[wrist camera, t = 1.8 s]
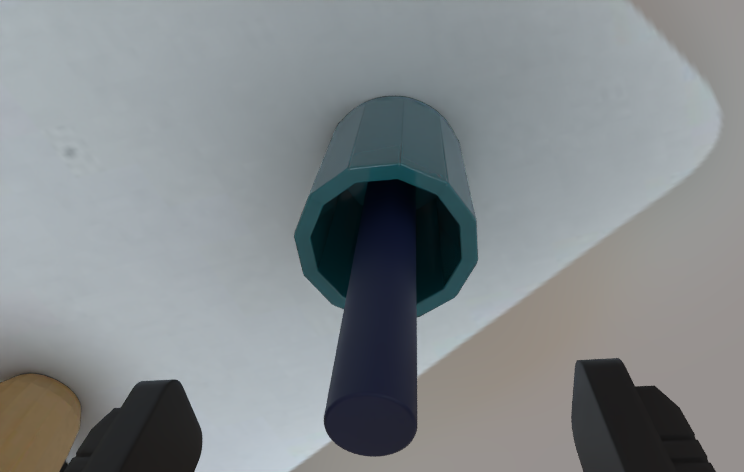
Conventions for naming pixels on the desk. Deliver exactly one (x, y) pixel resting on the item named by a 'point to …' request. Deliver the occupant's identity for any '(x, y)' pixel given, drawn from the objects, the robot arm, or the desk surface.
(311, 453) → the desk surface
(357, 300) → the pen
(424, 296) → the pen cup
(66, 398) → the ice cream cone
